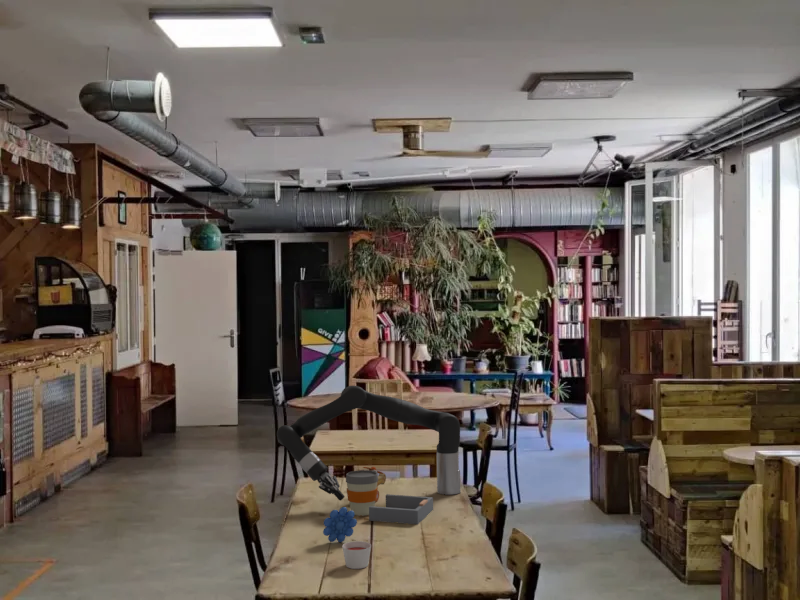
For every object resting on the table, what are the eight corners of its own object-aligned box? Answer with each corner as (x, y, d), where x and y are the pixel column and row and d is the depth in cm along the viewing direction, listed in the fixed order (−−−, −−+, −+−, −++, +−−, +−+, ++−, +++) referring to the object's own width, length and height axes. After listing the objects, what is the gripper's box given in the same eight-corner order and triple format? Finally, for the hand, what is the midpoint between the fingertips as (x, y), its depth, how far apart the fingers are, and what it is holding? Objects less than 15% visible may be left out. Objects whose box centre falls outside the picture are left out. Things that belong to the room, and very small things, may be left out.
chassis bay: (369, 520, 307) (368, 505, 307) (387, 506, 326) (386, 492, 326) (417, 524, 301) (417, 508, 301) (433, 510, 320) (432, 495, 319)
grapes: (356, 537, 286) (355, 503, 286) (357, 543, 279) (357, 508, 279) (322, 539, 284) (322, 504, 284) (323, 545, 278) (322, 509, 278)
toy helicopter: (355, 502, 334) (354, 468, 333) (374, 490, 353) (374, 458, 353) (374, 503, 331) (373, 469, 330) (392, 491, 350) (392, 459, 350)
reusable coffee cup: (380, 508, 324) (379, 470, 324) (376, 517, 311) (375, 477, 311) (349, 507, 325) (348, 470, 325) (343, 516, 313) (343, 477, 312)
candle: (356, 559, 263) (355, 539, 263) (377, 564, 257) (377, 544, 257) (336, 566, 256) (336, 546, 256) (358, 572, 250) (357, 551, 250)
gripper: (312, 463, 317) (342, 496, 314) (326, 456, 330) (355, 488, 326) (299, 476, 319) (329, 509, 315) (314, 468, 332) (343, 500, 328)
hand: (342, 498), depth 321 cm, fingers closed
